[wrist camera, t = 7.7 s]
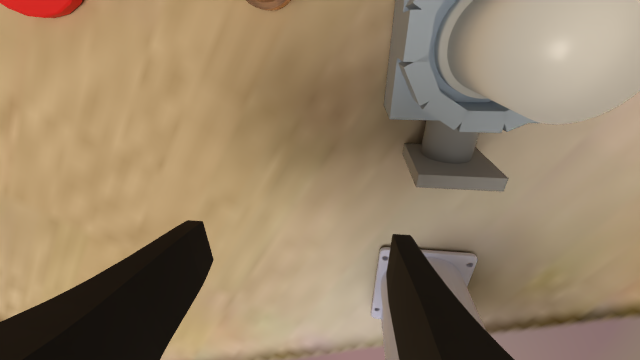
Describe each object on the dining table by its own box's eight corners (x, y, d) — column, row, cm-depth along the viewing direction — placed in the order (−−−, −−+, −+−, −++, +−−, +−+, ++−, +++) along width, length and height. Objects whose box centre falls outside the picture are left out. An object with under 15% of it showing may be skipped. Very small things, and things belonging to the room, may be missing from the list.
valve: (541, 159, 18) (602, 200, 14) (378, 153, 19) (385, 189, 15) (690, -176, 11) (921, -319, 6) (412, -156, 12) (447, -266, 7)
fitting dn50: (513, 101, 13) (615, 146, 8) (419, 85, 14) (462, 119, 8) (572, -14, 11) (771, -55, 6) (458, -33, 11) (550, -89, 6)
